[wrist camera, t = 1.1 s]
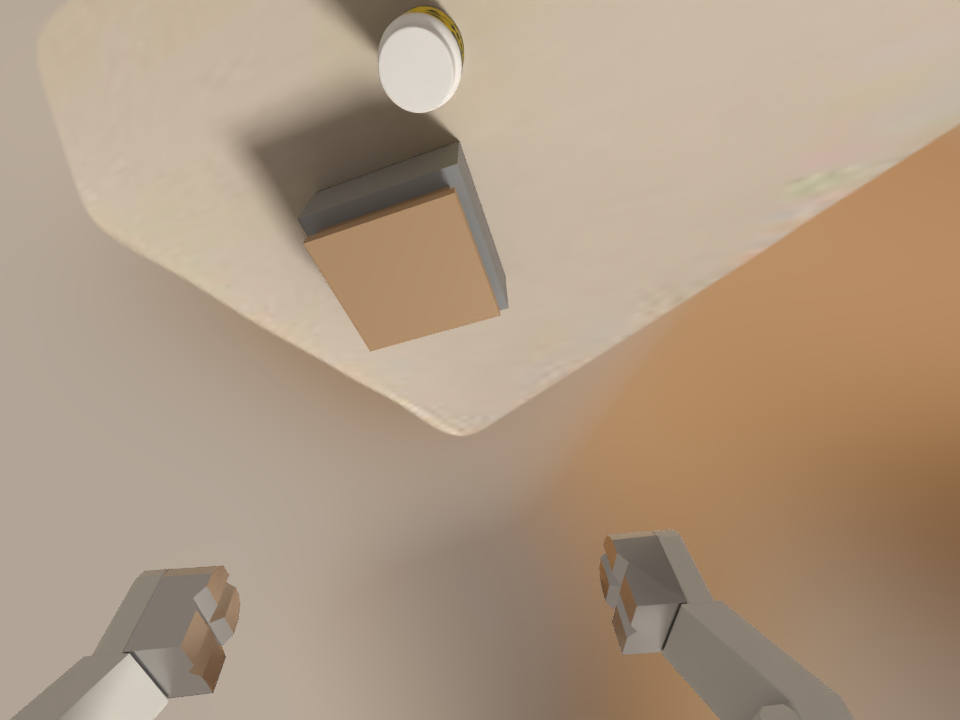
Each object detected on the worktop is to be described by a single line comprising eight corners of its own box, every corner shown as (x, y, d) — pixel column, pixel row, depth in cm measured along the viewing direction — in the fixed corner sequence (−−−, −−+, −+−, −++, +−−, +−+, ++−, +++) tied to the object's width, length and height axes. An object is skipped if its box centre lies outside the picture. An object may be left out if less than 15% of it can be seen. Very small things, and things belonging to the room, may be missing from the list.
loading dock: (459, 140, 35) (456, 175, 29) (505, 276, 42) (509, 323, 37) (315, 192, 37) (288, 233, 32) (383, 312, 45) (370, 361, 39)
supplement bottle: (478, 58, 32) (479, 84, 25) (424, 105, 33) (412, 140, 27) (432, -16, 29) (420, -8, 23) (376, 39, 31) (350, 61, 24)
